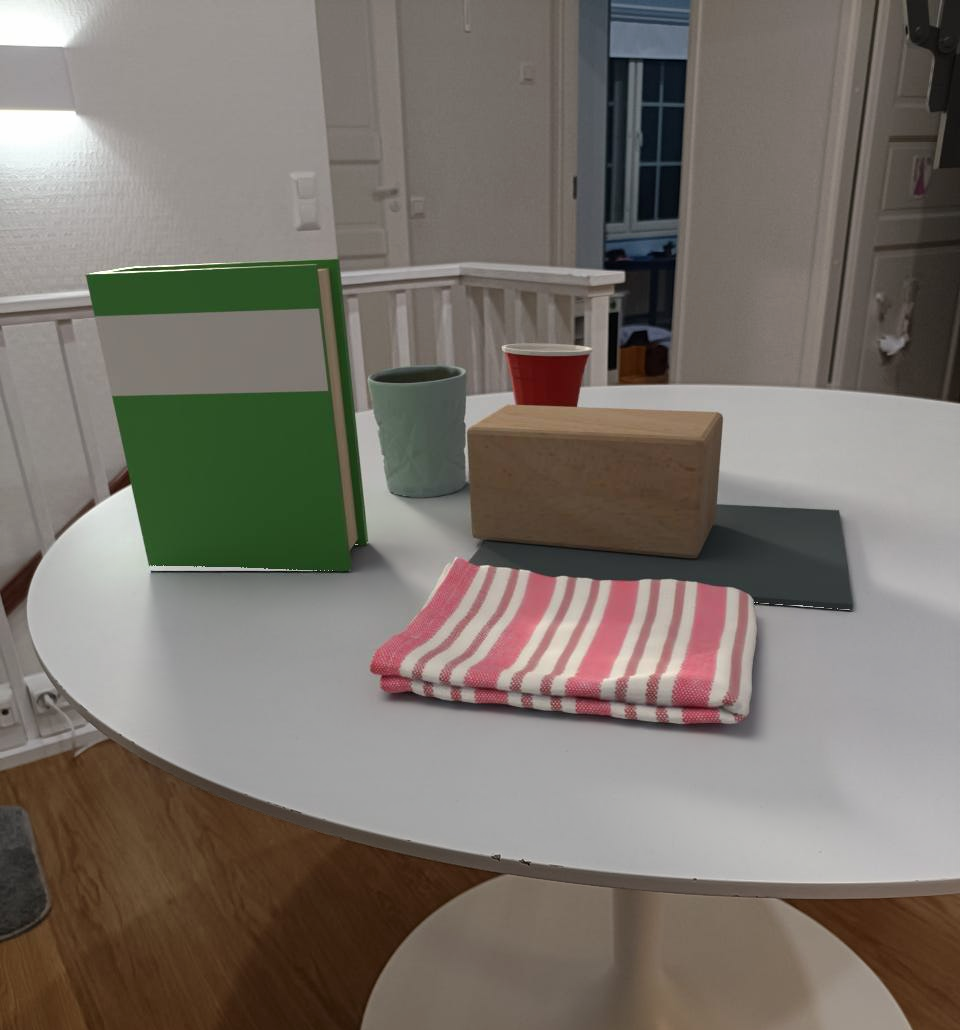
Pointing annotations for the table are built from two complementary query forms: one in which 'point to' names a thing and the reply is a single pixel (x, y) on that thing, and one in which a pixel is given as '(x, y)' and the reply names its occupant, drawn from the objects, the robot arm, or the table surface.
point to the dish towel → (578, 645)
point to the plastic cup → (546, 373)
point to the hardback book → (235, 411)
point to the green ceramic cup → (421, 428)
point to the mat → (717, 557)
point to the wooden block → (596, 478)
